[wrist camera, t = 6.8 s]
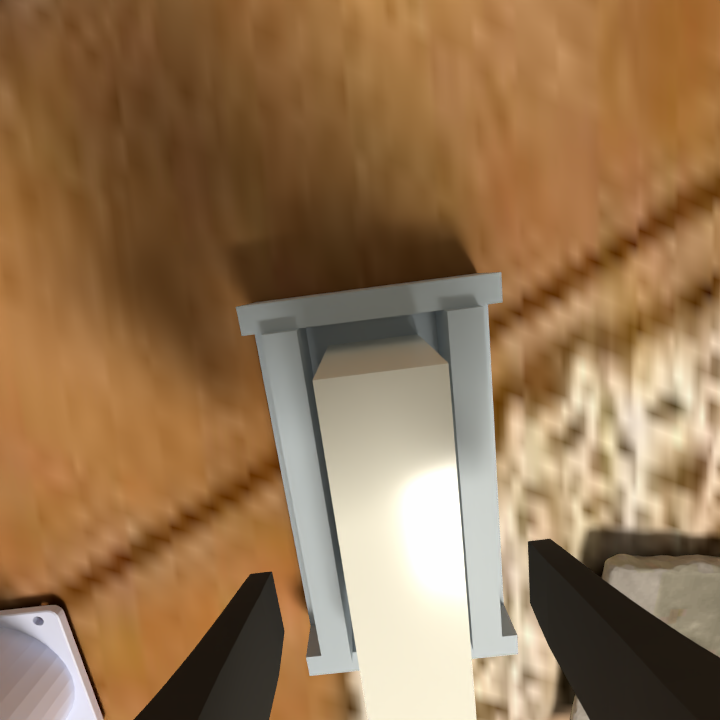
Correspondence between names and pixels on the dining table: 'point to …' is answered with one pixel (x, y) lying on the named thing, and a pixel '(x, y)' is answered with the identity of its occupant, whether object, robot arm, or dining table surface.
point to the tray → (306, 453)
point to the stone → (670, 595)
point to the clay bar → (399, 524)
